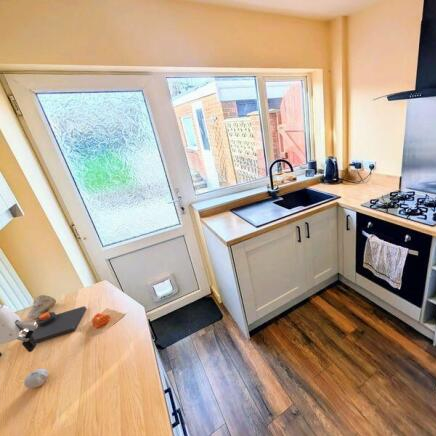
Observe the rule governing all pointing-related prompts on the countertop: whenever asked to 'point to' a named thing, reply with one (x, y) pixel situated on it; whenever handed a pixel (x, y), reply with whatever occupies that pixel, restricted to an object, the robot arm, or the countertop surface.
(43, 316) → the tare button
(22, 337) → the robot arm
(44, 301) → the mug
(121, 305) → the countertop surface
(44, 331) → the scale
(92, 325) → the shallow wooden dish
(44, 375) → the garlic
